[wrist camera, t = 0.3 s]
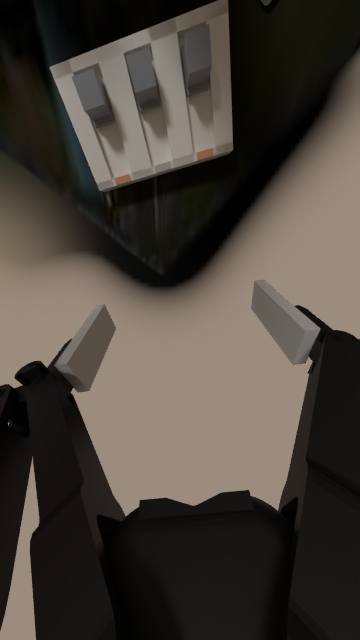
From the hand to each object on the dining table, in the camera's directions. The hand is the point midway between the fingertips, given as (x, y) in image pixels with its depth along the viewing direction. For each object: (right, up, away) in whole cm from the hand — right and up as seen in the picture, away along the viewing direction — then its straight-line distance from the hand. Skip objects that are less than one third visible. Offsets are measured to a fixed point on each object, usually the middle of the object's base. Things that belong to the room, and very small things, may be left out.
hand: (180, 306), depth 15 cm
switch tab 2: (-5, +31, +8) cm, 32 cm away
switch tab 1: (-12, +30, +9) cm, 33 cm away
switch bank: (-4, +30, +12) cm, 33 cm away
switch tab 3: (+2, +32, +8) cm, 33 cm away
